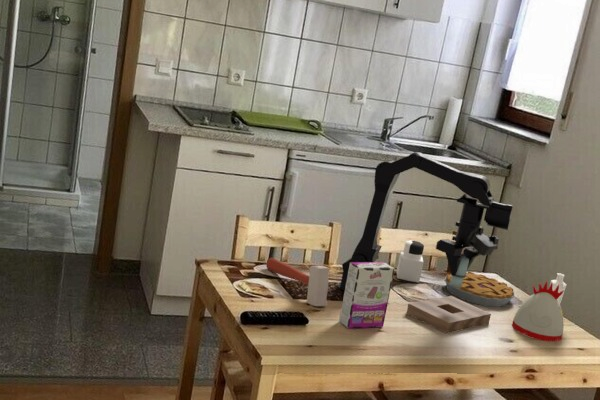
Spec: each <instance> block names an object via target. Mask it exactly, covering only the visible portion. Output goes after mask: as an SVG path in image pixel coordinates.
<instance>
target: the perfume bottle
mask: <svg viewBox="0 0 600 400" xmlns="http://www.w3.org/2000/svg"><path fill="white" fill-rule="evenodd" d="M556 274H557V275H556V279H551V280H550V283H549V286H550V285H551V283H552V290H553V291H554V290H555V289H556V287H557V286H558V285H559V289H558V292H559V293H560V292H561V291H563V290H564V291H563V293H562V294H561V295H560V296H559V297H558V299H557V301H558V302H559V304H560V305H561V302H562V299H563V296H564V294H565V290H566V287H567V283H565V282H564V278H565V275H566V274H563V273H560V272H559V273H558V272H557V273H556Z"/></svg>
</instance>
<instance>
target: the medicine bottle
mask: <svg viewBox="0 0 600 400" xmlns="http://www.w3.org/2000/svg"><path fill="white" fill-rule="evenodd" d="M424 248H425V246H424V243H422V242H420V241H417V240H406V241H405V243H404V247H403V251H401V252H400V254H399V258H398V262H397V268H396V278H397V279H399V280H403V281H408V282H413V283H418V284H419V283H420V280H421V275H422V270H423V265H424V258H423V253H424V250H425V249H424Z"/></svg>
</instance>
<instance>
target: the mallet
mask: <svg viewBox="0 0 600 400" xmlns="http://www.w3.org/2000/svg"><path fill="white" fill-rule="evenodd" d="M265 267H266V269H267V270H269V271H271V272H273V273H276V274H278V275H280V276H283V277H285V278H288V279H291V280H295V281H297V282H300V283H302V284H305V285H306V286H307V296H306V303H308V304H309V305H310V306H313V307H326V306H327V300H328V299H327V297H328V291H329V290H328V289H329V272H330V268H329V267H327V266H324V265H310V269H309V274H306V273H304V272H302V271H300V270H298V269H296V268H294V267H293V266H291V265H289V264H286V263H284V262H283V261H280V260H278V259H276V258H273V257H270V258H268V259H267V260H266V264H265Z"/></svg>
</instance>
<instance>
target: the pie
mask: <svg viewBox="0 0 600 400" xmlns="http://www.w3.org/2000/svg"><path fill="white" fill-rule="evenodd" d="M451 277H452V275H451V271H450V272H449V273H448V274H446V276H445V278H444V282H445V285H446V290H447V291H448V292H449V293H450V294H452V296H454V297H456V298H457V297H458V299H460V300H463V301H465V302H466V301H467V302H469V303H473V304H475V305H476V304H477V305H480V306H484V307H485V306H486V307H492V308H493V307H494V308H495V307H503V306H505V305H507V304H508V303H509V302H510V301H511V300H512V299H513V298H515V297H516V295H515V291H514V288H512V287H511V286H508V284H507V283H505V282H501V281H498V279H496V278H491V277H487V276H486V275H483V274H475V273H473V272H471V271H467V272H466V277H465V278H463V282H462V286H461V287H454V286H452V285H450V282H451Z"/></svg>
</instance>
